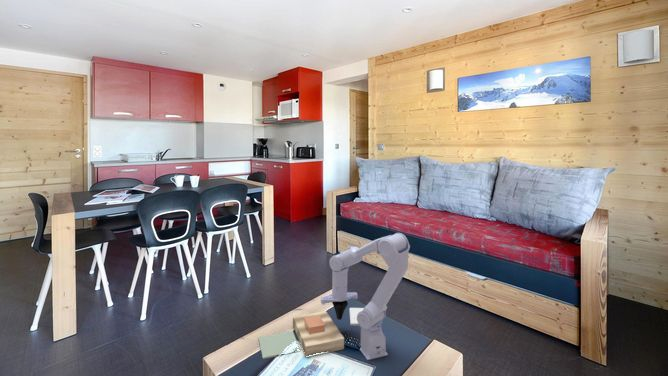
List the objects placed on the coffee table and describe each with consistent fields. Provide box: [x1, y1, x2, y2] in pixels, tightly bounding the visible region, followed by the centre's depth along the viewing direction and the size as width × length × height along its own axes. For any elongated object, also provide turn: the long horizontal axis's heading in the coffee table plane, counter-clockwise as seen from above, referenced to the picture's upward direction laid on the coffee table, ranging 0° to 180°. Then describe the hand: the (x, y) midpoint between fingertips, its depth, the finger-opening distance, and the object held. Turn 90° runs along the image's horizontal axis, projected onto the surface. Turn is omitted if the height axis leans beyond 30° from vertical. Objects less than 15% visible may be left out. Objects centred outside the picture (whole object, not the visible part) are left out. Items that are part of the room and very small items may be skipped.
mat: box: [258, 330, 301, 360], centre depth 112 cm, size 12×13×1 cm
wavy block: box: [292, 310, 345, 357], centre depth 117 cm, size 20×14×4 cm
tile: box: [304, 315, 325, 334], centre depth 117 cm, size 7×6×2 cm
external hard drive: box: [348, 307, 365, 327], centre depth 131 cm, size 2×8×12 cm
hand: (339, 318), depth 120 cm, fingers closed
